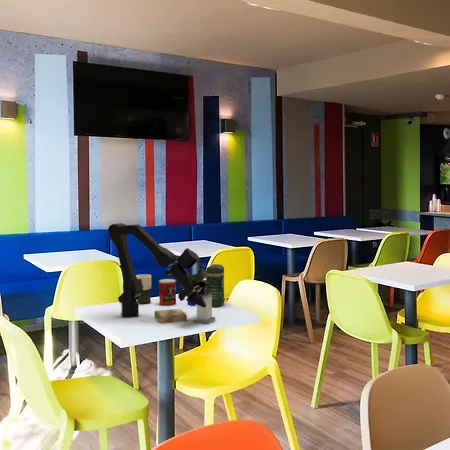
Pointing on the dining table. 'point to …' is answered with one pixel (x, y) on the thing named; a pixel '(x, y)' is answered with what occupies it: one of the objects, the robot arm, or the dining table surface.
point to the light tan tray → (170, 316)
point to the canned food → (167, 292)
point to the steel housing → (205, 310)
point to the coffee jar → (215, 284)
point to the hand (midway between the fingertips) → (207, 305)
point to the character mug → (145, 288)
